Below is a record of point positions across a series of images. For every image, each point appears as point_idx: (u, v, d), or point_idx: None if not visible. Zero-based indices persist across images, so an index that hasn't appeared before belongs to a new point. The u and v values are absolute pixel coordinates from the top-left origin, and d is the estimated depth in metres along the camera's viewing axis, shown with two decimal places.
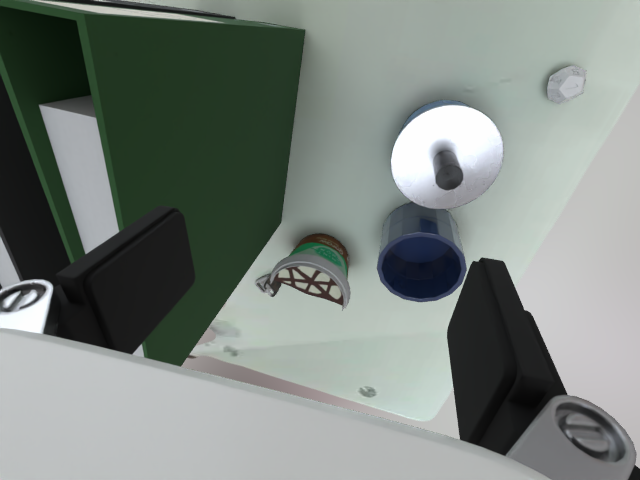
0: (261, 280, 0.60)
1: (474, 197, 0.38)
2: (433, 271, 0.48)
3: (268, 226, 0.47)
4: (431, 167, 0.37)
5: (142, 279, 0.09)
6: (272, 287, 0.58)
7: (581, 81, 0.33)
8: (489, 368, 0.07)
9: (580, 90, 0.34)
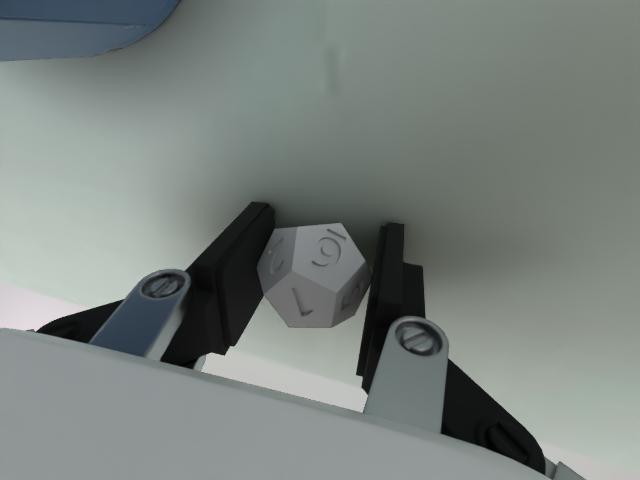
0: None
1: None
2: None
3: None
4: None
5: (248, 270, 0.10)
6: None
7: (318, 323, 0.10)
8: (368, 303, 0.08)
9: (291, 324, 0.10)
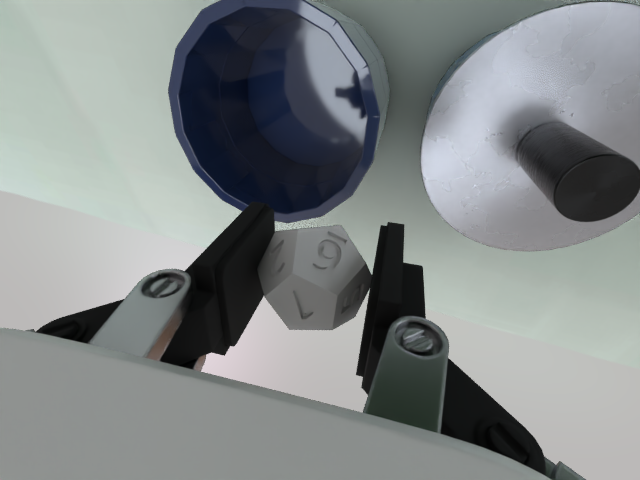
0: None
1: (444, 213, 0.19)
2: (245, 142, 0.23)
3: None
4: (538, 121, 0.15)
5: (248, 270, 0.10)
6: None
7: (319, 326, 0.10)
8: (368, 303, 0.08)
9: (292, 326, 0.10)
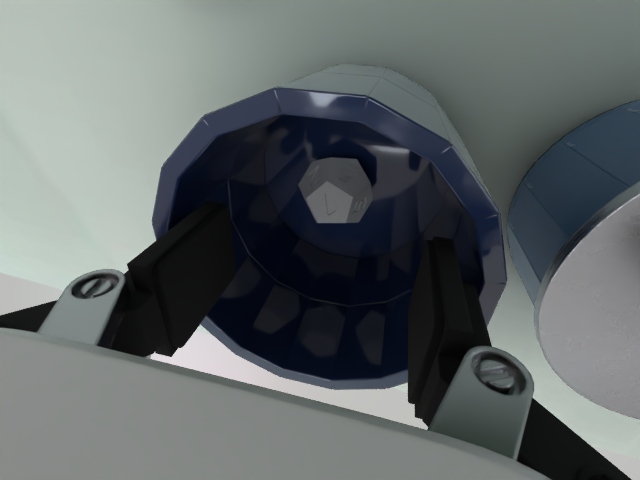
0: None
1: (566, 374, 0.13)
2: (263, 241, 0.17)
3: None
4: None
5: (196, 270, 0.10)
6: None
7: (338, 220, 0.15)
8: (427, 328, 0.08)
9: (320, 220, 0.16)
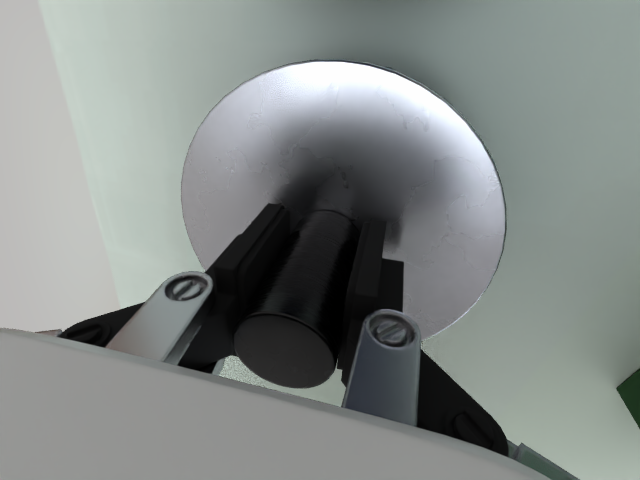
0: None
1: (209, 126, 0.11)
2: None
3: None
4: None
5: (266, 272, 0.10)
6: None
7: None
8: None
9: None
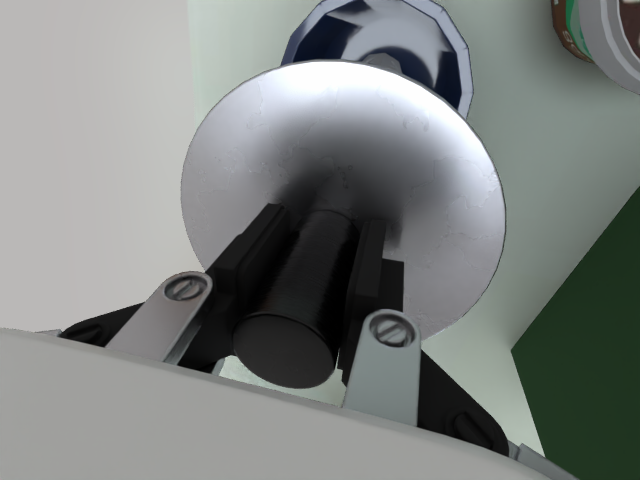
0: None
1: (209, 126, 0.11)
2: (341, 22, 0.22)
3: None
4: None
5: (266, 272, 0.10)
6: None
7: None
8: None
9: None
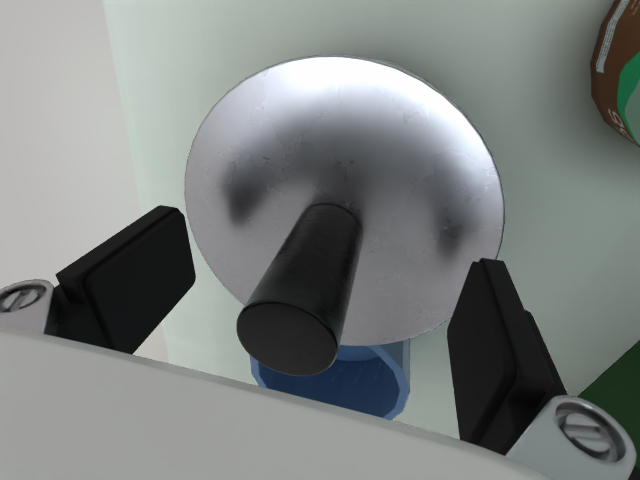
0: None
1: (213, 121, 0.11)
2: None
3: None
4: (364, 220, 0.12)
5: (142, 279, 0.09)
6: None
7: None
8: (489, 368, 0.07)
9: None
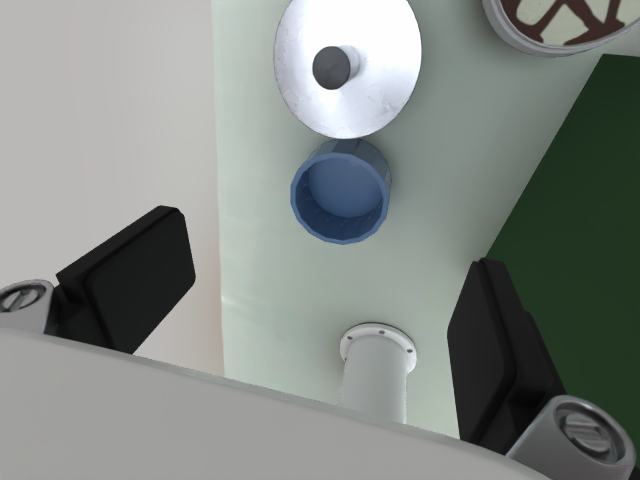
0: None
1: (293, 4, 0.25)
2: None
3: (618, 99, 0.26)
4: (360, 52, 0.25)
5: (142, 279, 0.09)
6: None
7: None
8: (489, 368, 0.07)
9: None
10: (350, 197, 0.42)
